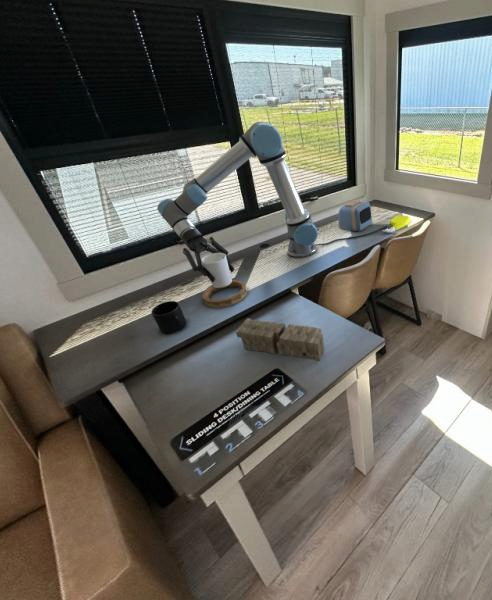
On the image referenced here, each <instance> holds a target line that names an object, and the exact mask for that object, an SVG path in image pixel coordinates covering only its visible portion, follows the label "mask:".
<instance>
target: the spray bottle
mask: <svg viewBox="0 0 492 600" xmlns="http://www.w3.org/2000/svg"><path fill="white" fill-rule="evenodd" d="M410 221H411V217H410V216H408V215H399V214H398V215H395V216H394V217H393V218H392V219H391V220H390V221H389V224H390V226H391V227H390V228H388V227H386V229H382V232H383V233H388V234H396V231H398V230H400V229H403V228H404V227H406V226H407V225H408V224H409V223H410Z"/></svg>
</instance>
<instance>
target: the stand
mask: <svg viewBox="0 0 492 600" xmlns="http://www.w3.org/2000/svg"><path fill="white" fill-rule="evenodd" d="M225 288H226V289H227V288H239V289H240V290H239V291H238V293H236V294H234V295H232V296H229V297H226V298H222V299H211V298H210V296H212V295H213V294H214V293H215V292H218V291H220V290H222V289H225ZM247 290H248V289H247V286H246V282H245V281H242V280H240V279H232V282H231V283H230V284H229V285H228V286H225V287H221V288H215V287H213V286H212V284H211V285H209V286H208V287H206V288H205V290H204V291H202V300H203V303H204V305H206V306H208V307H209V308H214V309H215V308H216V309H217V308H218V309H223V308H227V307H230V306H233V305H236V304H237V303H239V302H241V301H243V300H244V298H245V297H246V296H247V295H248V291H247Z"/></svg>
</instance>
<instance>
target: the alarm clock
mask: <svg viewBox="0 0 492 600" xmlns="http://www.w3.org/2000/svg"><path fill="white" fill-rule="evenodd" d="M371 208H372V207H371V203H370V202H368V201H361V199H351V200H349V201H346V202H345V204H344V205H343V206H341V207H340V208H339V210H338V227H339V229H343V230H349V231H354V232H362V231H363V230H364V229H367V228H368V227H369V226H371V224H373V223H372V222H373V218H372V209H371Z"/></svg>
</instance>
